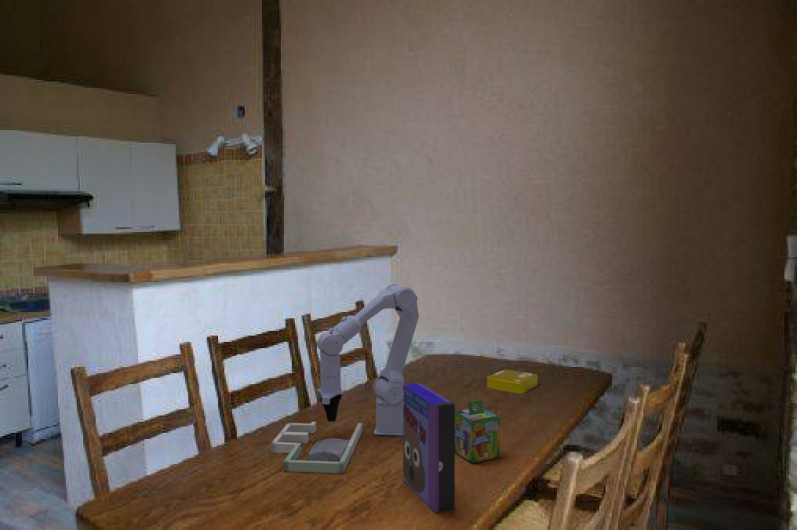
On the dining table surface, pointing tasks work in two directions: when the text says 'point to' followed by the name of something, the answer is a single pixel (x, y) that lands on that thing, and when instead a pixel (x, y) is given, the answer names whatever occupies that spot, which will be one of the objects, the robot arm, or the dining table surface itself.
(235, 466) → the dining table surface
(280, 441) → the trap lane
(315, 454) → the stone block
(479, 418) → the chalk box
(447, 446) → the cereal box
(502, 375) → the element tile
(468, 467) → the dining table surface
